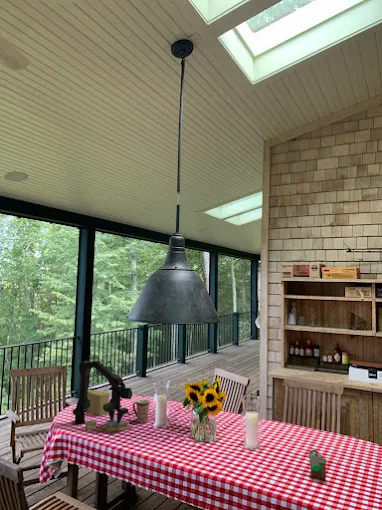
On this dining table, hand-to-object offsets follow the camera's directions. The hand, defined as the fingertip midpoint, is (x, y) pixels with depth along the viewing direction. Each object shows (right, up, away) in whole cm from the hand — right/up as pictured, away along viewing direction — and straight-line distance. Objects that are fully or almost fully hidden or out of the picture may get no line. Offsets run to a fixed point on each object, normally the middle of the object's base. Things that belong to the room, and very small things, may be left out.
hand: (114, 422), depth 253 cm
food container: (+109, -1, -59) cm, 124 cm away
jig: (0, -4, 0) cm, 4 cm away
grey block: (0, -3, 0) cm, 3 cm away
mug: (+14, -6, +15) cm, 21 cm away
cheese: (-22, -6, +32) cm, 39 cm away
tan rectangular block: (-15, -3, -1) cm, 16 cm away
